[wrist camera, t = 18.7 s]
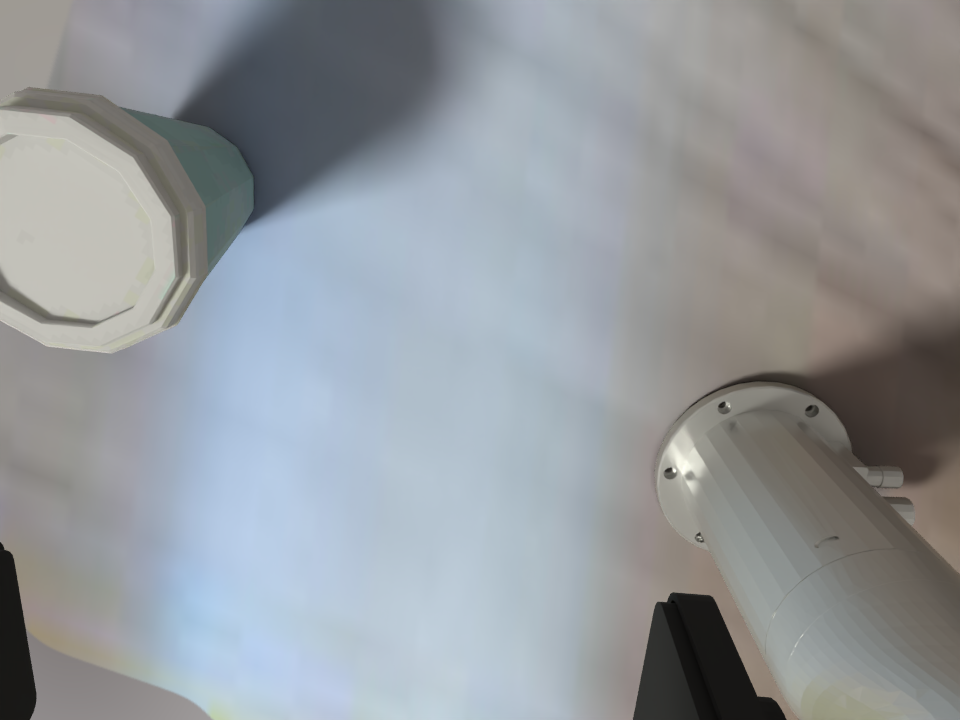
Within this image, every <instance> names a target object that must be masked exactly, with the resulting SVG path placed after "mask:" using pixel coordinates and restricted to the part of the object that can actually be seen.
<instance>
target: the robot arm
mask: <svg viewBox="0 0 960 720" xmlns="http://www.w3.org/2000/svg"><path fill="white" fill-rule="evenodd" d="M721 402H723V404H722V405H719V404H720V403H721ZM808 406H809V407H808ZM667 468H669V469H667ZM654 472H655V489H656V493H657V497H658V501H659V503H660V505H661V508H662V510H663V512H664V515H665V516H666V518H667V519H668V521H669V522H670V524H671V525H672V527H673V528H674V529H675V530H676V531H677V532H678V533H679V534H680V535H681V536H682V537H683V538H684V539H686V540H687V541H689V542H690V543H692V544H693V545H695V546H697V547H699V548H701V549H704V550H706V551H709V552H710V553H711V555H712V557H713V559H714V561H715V563H716V565H717V567H718V569H719V571H720V573H721V575H722V577H723V579H724V581H725V583H726V585H727V587H728V589H729V591H730V593H731V595H732V597H733V599H734V601H735V603H736V605H737V607H738V609H739V611H740V613H741V615H742V617H743V619H744V621H745V623H746V625H747V627H748V629H749V631H750V632H751V634H752V636H753V638H754V640H755V642H756V644H757V646H758V648H759V650H760V652H761V654H762V656H763V658H764V660H765V662H766V664H767V666H768V668H769V670H770V672H771V674H772V676H773V678H774V680H775V682H776V684H777V686H778V688H779V690H780V692H781V694H782V696H783V697H784V699H785V700H786V702H787V704H788V705H789V707H790V708H791V710H792V711H793V712H794V714H795V715H796V716H797V717H798V719H799V720H960V574H959V573H958V572H957V571H956V570H955V569H954V568H953V567H952V566H951V565H950V564H949V563H948V562H947V561H946V560H945V559H944V558H943V557H942V556H941V555H940V554H939V553H938V552H937V551H936V550H935V549H934V548H933V547H932V546H931V545H930V544H929V543H928V542H927V541H926V540H925V539H924V538H923V537H922V536H921V535H920V534H919V533H918V532H917V531H916V530H915V529H914V528H913V527H912V525H913V523H914V520H915V510H914V506H913V504H912V502H911V501H910V499H908V498H906V497H884V496H881V495H880V494H879V493H878V492H877V491H876V490H875V489H874V488H873V487H877V488H900V487H901V486H902V484H903V478H904V477H903V472H902V470H901V469H900V467H897V466H880V465H876V466H865V465H864V464H863V463H862V462H861V461H860V460H859V459H858V458H857V457H855V456H854V455H853V454H852V448H851V442H850V440H849V437H848V434H847V432H846V429H845V427H844V426H843V424H842V423H841V421H840V420H839V418H838V417H837V415H836V414H835V413H834V412H833V411H832V410H831V409H830V408H829V407H828V406H827V405H826V404H825V403H823V402H822V401H821V400H819V399H818V398H816V397H815V396H814V395H812V394H811V393H809V392H807V391H804V390H802V389H800V388H798V387H795V386H792V385H787V384H783V383H779V382H761V381H757V382H750V383H742V384H737V385H734V386H731V387H727V388H724V389H721V390H719V391H717V392H715V393H713V394H711V395H709V396H707V397H705V398H703V399H701V400H700V401H699V402H697V403H696V404H695V405H693V406H692V407H691V408H689V409H688V410H687V411H686V412H685V413H684V414H683V415H682V416H681V417H680V418H679V419H678V420H677V421H676V422H675V423H674V425H673V426H672V428H671V429H670V431H669V432H668V434H667V435H666V437H665V438H664V440H663V443H662V445H661V447H660V450H659V452H658V455H657V460H656V465H655V470H654ZM872 486H873V487H872ZM35 705H36V689H35V683H34V676H33V670H32V664H31V659H30V653H29V647H28V641H27V635H26V629H25V623H24V617H23V611H22V605H21V599H20V593H19V587H18V581H17V575H16V569H15V563H14V558H13V555H12V554H11V553H10V552H9V551H6V550H4V547H3V545H2V543H1V542H0V720H30V718H31V716H32V714H33V712H34V708H35ZM633 720H786V718H785V716H784V713H783V712H782V710H781V708H780V707H779V705H778V703H777V702H776V701H774V700H773V699H772V698H769V697H757V695H756V692H755V690H754V688H753V685H752V683H751V681H750V679H749V676H748V674H747V672H746V670H745V667H744V665H743V663H742V661H741V658H740V656H739V654H738V652H737V649H736V647H735V645H734V642H733V640H732V638H731V636H730V633H729V631H728V629H727V627H726V624H725V622H724V620H723V618H722V615H721V613H720V611H719V609H718V606H717V604H716V602H715V600H714V599H713V597H711V596H710V595H697V594H685V593H671V594H670V596H669V598H668V601H667V602H657V603H656V605H655V609H654V613H653V618H652V624H651V629H650V634H649V639H648V644H647V650H646V655H645V660H644V665H643V670H642V675H641V681H640V686H639V691H638V696H637V701H636V707H635V712H634V717H633Z"/></svg>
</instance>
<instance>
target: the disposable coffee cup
mask: <svg viewBox="0 0 960 720" xmlns="http://www.w3.org/2000/svg"><path fill="white" fill-rule="evenodd" d="M253 210H254V177H253V175H252V173H251V172H250V170H249V168H248V166H247V164H246V162H245V161H244V159H243V157H242V155H241V153H240V151H239V150H238V148H237V147H236V146H235V145H234V144H232V143H231V142H229V141H228V140H226V139H225V138H224V137H222V136H221V135H219V134H218V133H216V132H215V131H214V130H212V129H211V128H209V127H206V126H202V125H197V124H193V123H189V122H184V121H180V120H175V119H171V118H166V117H162V116H157V115H153V114H149V113H144V112H140V111H135V110H131V109H126V108H122V107H118V106H117V105H115V104H114V103H112V102H111V101H109V100H108V99H106V98H105V97H103V96H102V95H94V94H85V93H76V92H67V91H58V90H49V89H40V88H31V87H27V88H26V89H24V90H22V91H17V92H14V93H12V94H10V95H8V96H6V97H5V98H3V99H1V100H0V321H2V322H4V323H6V324H8V325H10V326H11V327H13V328H15V329H17V330H19V331H20V332H22V333H24V334H26V335H28V336H30V337H31V338H33V339H35V340H37V341H39V342H41V343H42V344H44V345H46V346H47V347H57V348H66V349H76V350H85V351H95V352H104V353H114V352H116V351H118V350H120V349H125V348H127V347H129V346H132V345H134V344H136V343H138V342H141V341H143V340H145V339H147V338H150V337H152V336H154V335H156V334H158V333H161V332H163V331H165V330H167V329H170V328H172V327H174V326H176V325H178V323H179V321H180V320H181V318H182V316H183V315H184V313H185V311H186V310H187V308H188V306H189V305H190V303H191V301H192V300H193V298H194V296H195V295H196V293H197V291H198V290H199V288H200V286H201V285H202V283H203V281H204V280H205V279H206V277H207V276H208V275H209V273H210V272H211V271H212V269H213V268H214V267H215V265H216V264H217V263H218V261H219V260H220V259H221V257H222V256H223V255H224V253H225V252H226V250H227V249H228V248H229V246H230V245H231V244H232V242H233V241H234V240H235V238H236V237H237V236H238V234H239V233H240V231H241V229H242V228H243V226H244V224H245V223H246V221H247V219H248V218H249V216H250V215H251V213H252V211H253Z"/></svg>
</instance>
